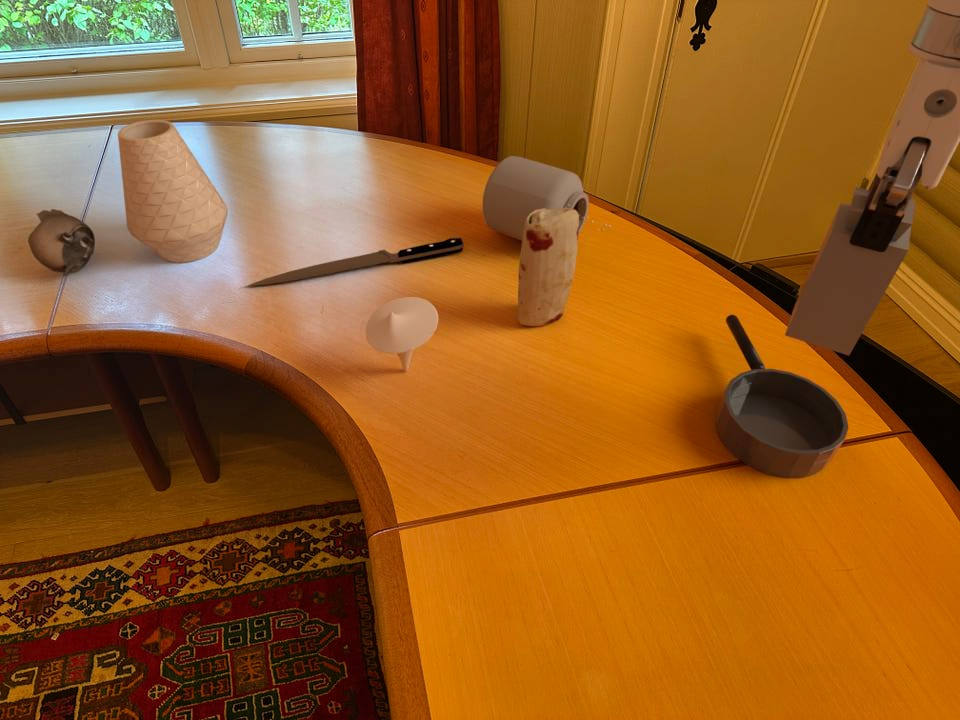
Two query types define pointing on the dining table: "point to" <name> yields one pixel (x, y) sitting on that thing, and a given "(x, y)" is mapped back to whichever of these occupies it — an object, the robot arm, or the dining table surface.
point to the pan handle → (744, 343)
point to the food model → (547, 265)
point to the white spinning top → (401, 327)
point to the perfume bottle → (847, 279)
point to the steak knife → (370, 261)
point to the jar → (529, 194)
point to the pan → (780, 423)
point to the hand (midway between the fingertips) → (871, 228)
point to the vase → (168, 193)
